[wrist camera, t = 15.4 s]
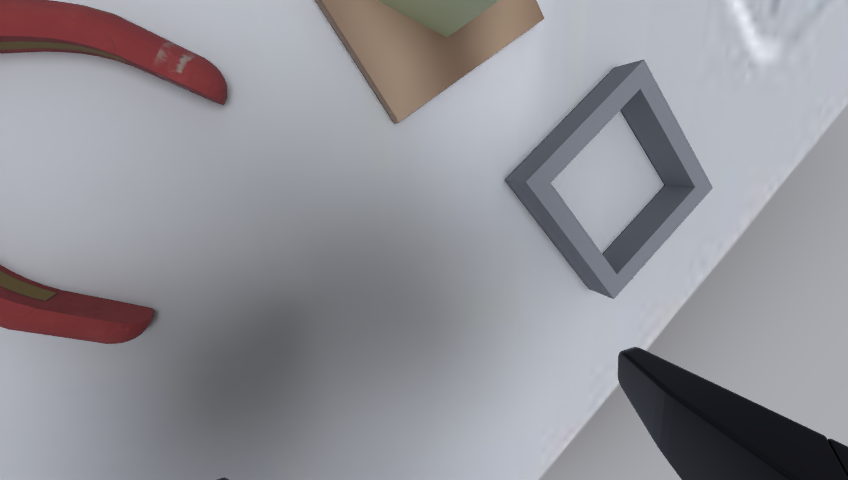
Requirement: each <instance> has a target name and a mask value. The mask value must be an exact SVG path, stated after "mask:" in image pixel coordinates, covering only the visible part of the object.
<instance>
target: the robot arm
mask: <svg viewBox="0 0 848 480" xmlns="http://www.w3.org/2000/svg"><path fill="white" fill-rule="evenodd" d="M618 380H619V383H620V385H621V387H622V389H623V390H624V392H625V394H626V395H627V397H628V399H629V400H630V402H631V404H632V405H633V407H634V409H635V410H636V412H637V413H638V415H639V417H640V418H641V420H642V422H643V423H644V425H645V427H646V428H647V430H648V432H649V433H650V435H651V437H652V438H653V440H654V441H655V443H656V444H657V446H658V448H659V449H660V451H661V452H662V453H663V455H664V456H665V458H666V459H667V460H668V461H669V463H670V464H671V466H672V467H673V468H674V470H675V471H676V472H677V474H678V475H679V476H680V478H681V479H682V480H848V447H847V446H845V445H843V444H841V443H839V442H837V441H835V440H833V439H828V440H827V438H826V437H825V436H824V435H822V434H820V433H817V432H815V431H813V430H811V429H809V428H807V427H805V426H803V425H801V424H799V423H797V422H794V421H792V420H790V419H788V418H786V417H784V416H782V415H780V414H778V413H775V412H773V411H771V410H769V409H767V408H765V407H763V406H761V405H759V404H757V403H754V402H752V401H750V400H748V399H746V398H744V397H742V396H740V395H738V394H736V393H733V392H731V391H729V390H727V389H725V388H723V387H721V386H719V385H716V384H714V383H712V382H710V381H708V380H706V379H704V378H702V377H700V376H698V375H696V374H693V373H691V372H689V371H687V370H685V369H683V368H681V367H679V366H677V365H674V364H672V363H670V362H668V361H666V360H664V359H662V358H660V357H658V356H655V355H653V354H651V353H649V352H647V351H645V350H643V349H641V348H637V347H633V348H630V349H627V350H624V351H621V352H620V353H619V356H618ZM217 480H229V479H227V478H220V479H217Z"/></svg>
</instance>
